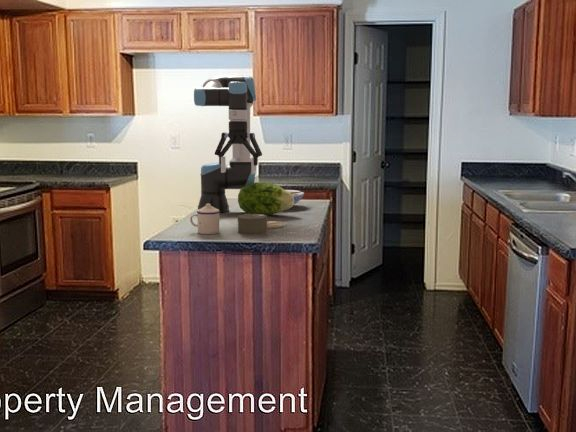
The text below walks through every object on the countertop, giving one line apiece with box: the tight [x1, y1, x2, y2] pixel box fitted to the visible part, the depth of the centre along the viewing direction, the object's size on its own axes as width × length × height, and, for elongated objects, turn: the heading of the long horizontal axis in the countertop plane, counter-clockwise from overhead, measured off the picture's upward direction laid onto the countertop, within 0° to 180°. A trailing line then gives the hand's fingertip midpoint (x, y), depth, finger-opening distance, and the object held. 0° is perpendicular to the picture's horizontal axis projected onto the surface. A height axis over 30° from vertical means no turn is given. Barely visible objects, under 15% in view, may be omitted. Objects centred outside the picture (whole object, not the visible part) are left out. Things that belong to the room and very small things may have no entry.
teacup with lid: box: [189, 204, 221, 235], centre depth 249 cm, size 12×9×12 cm
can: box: [237, 213, 268, 236], centre depth 250 cm, size 12×12×7 cm
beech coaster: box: [267, 220, 284, 229], centre depth 264 cm, size 10×10×1 cm
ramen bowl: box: [285, 189, 307, 205], centre depth 315 cm, size 25×23×8 cm
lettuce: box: [237, 182, 295, 216], centre depth 289 cm, size 15×27×16 cm, turn 81°
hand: (238, 173), depth 255 cm, fingers open, 13 cm apart
